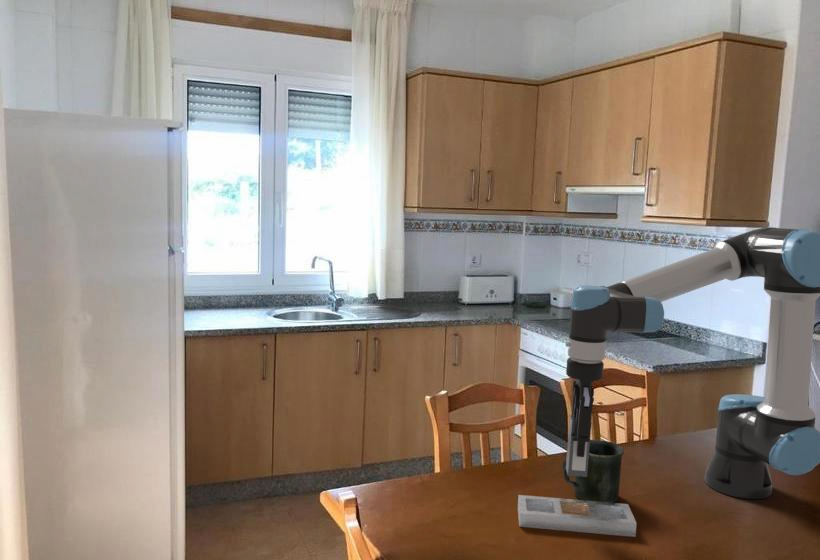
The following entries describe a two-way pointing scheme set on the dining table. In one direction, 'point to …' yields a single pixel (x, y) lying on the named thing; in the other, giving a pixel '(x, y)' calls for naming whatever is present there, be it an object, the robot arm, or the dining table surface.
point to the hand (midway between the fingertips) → (577, 465)
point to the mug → (599, 473)
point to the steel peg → (570, 450)
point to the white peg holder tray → (576, 515)
